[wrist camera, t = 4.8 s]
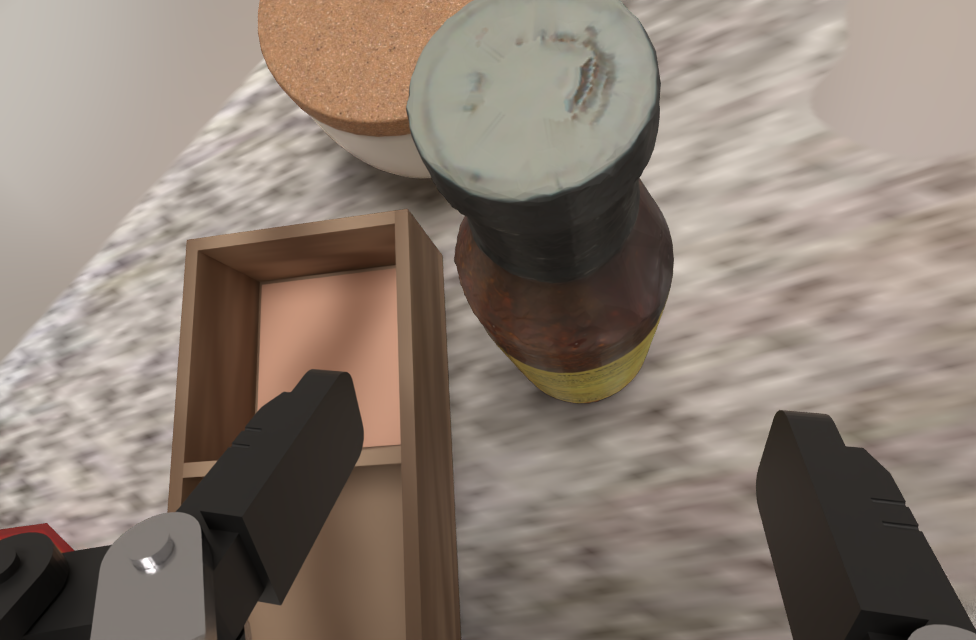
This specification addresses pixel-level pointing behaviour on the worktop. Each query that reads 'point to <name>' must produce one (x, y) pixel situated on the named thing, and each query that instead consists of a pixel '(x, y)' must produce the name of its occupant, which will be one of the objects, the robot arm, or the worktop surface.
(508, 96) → the sauce bottle
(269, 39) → the white lidded bowl
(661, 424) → the worktop surface
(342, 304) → the wooden compartment tray
